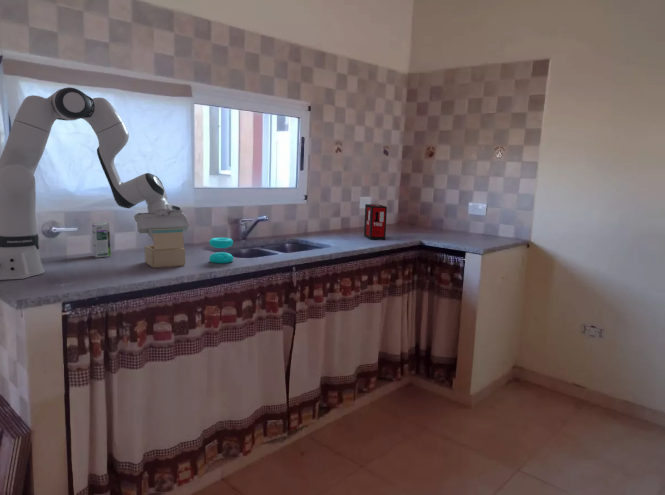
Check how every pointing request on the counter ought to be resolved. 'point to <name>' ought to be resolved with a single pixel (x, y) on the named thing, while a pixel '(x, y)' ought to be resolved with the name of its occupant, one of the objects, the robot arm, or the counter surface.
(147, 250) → the carton
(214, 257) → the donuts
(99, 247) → the syrup box
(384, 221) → the cleaning product box
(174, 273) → the counter surface
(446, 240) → the counter surface
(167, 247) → the flap
